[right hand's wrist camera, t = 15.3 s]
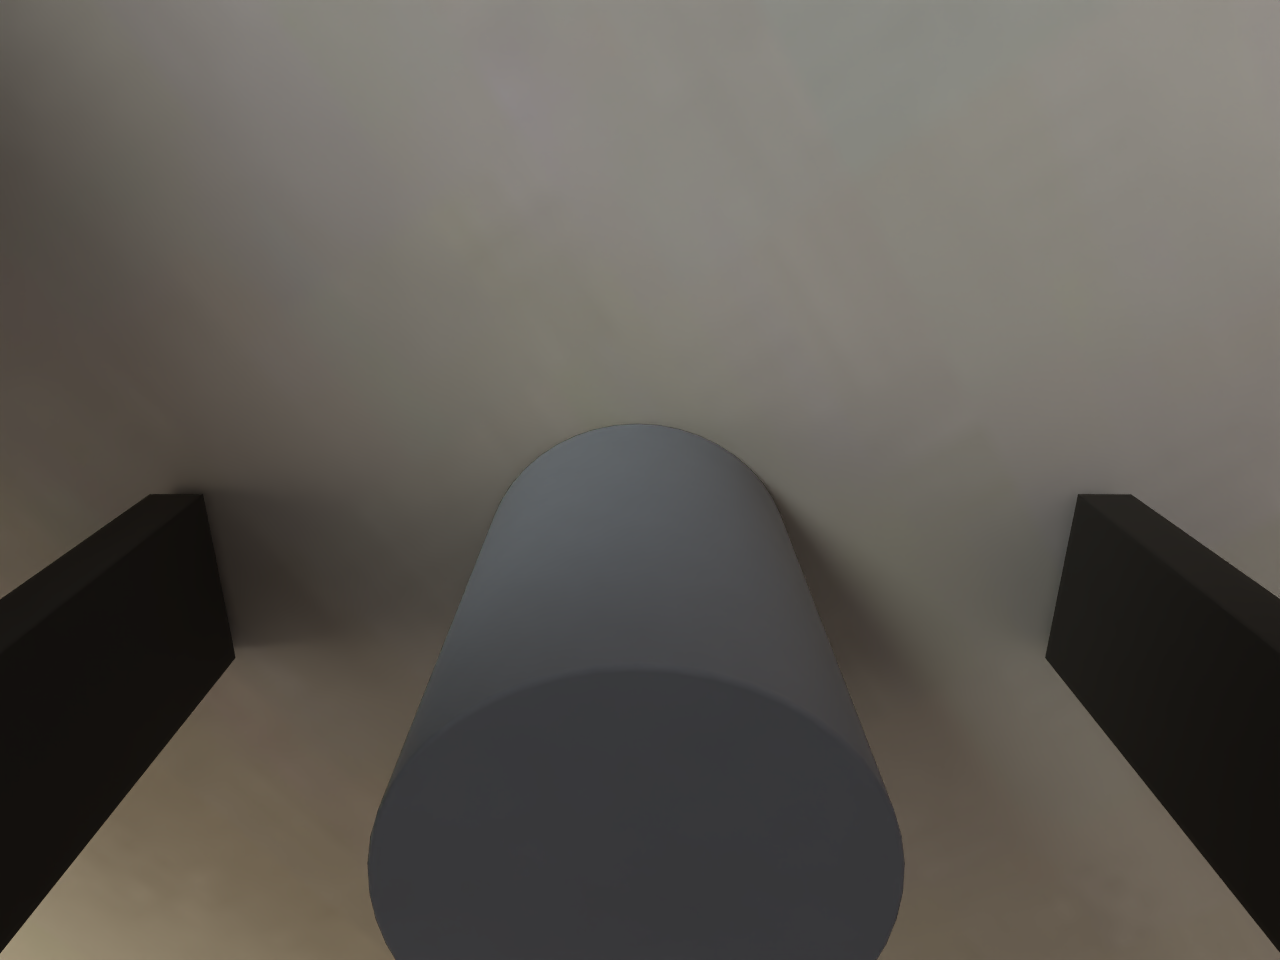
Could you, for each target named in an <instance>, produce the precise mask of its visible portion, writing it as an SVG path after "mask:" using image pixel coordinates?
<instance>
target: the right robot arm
mask: <svg viewBox="0 0 1280 960" xmlns="http://www.w3.org/2000/svg"><path fill="white" fill-rule="evenodd" d="M1045 658H1046V659H1047V661H1048V662H1049V663H1050V664H1051V666H1052V667H1053V668H1054V669H1055V671H1056V672H1057V673H1058V674H1059V676H1060V677H1061V678H1062V679H1063V681H1064V682H1065V683H1066V684H1067V686H1068V687H1069V688H1070V689H1071V691H1072V692H1073V693H1074V694H1075V696H1076V697H1077V698H1078V700H1079V701H1080V702H1081V703H1082V705H1083V706H1084V707H1085V708H1086V710H1087V711H1088V712H1089V713H1090V715H1091V716H1092V717H1093V718H1094V720H1095V721H1096V722H1097V723H1098V725H1099V726H1100V727H1101V728H1102V730H1103V731H1104V732H1105V733H1106V735H1107V736H1108V737H1109V738H1110V740H1111V741H1112V742H1113V743H1114V745H1115V746H1116V747H1117V748H1118V750H1119V751H1120V752H1121V754H1122V755H1123V756H1124V757H1125V759H1126V760H1127V761H1128V762H1129V764H1130V765H1131V766H1132V767H1133V769H1134V770H1135V771H1136V772H1137V774H1138V775H1139V776H1140V777H1141V779H1142V780H1143V781H1144V782H1145V784H1146V785H1147V786H1148V787H1149V789H1150V790H1151V791H1152V792H1153V794H1154V795H1155V796H1156V797H1157V799H1158V800H1159V801H1160V803H1161V804H1162V805H1163V806H1164V808H1165V809H1166V810H1167V811H1168V813H1169V814H1170V815H1171V816H1172V818H1173V819H1174V820H1175V821H1176V823H1177V824H1178V825H1179V826H1180V828H1181V829H1182V830H1183V831H1184V833H1185V834H1186V835H1187V836H1188V838H1189V839H1190V840H1191V841H1192V843H1193V844H1194V845H1195V846H1196V848H1197V849H1198V850H1199V852H1200V853H1201V854H1202V855H1203V857H1204V858H1205V859H1206V860H1207V862H1208V863H1209V864H1210V865H1211V867H1212V868H1213V869H1214V870H1215V872H1216V873H1217V874H1218V875H1219V877H1220V878H1221V879H1222V880H1223V882H1224V883H1225V884H1226V885H1227V887H1228V888H1229V889H1230V890H1231V892H1232V893H1233V894H1234V895H1235V897H1236V898H1237V899H1238V900H1239V902H1240V903H1241V904H1242V906H1243V907H1244V908H1245V909H1246V911H1247V912H1248V913H1249V914H1250V916H1251V917H1252V918H1253V919H1254V921H1255V922H1256V923H1257V924H1258V926H1259V927H1260V928H1261V929H1262V931H1263V932H1264V933H1265V934H1266V936H1267V937H1268V938H1269V939H1270V941H1271V942H1272V943H1273V944H1274V946H1275V947H1276V948H1277V949H1278V951H1279V952H1280V599H1279V598H1278V597H1276V596H1275V595H1273V594H1272V593H1271V592H1269V591H1268V590H1266V589H1265V588H1263V587H1262V586H1261V585H1259V584H1258V583H1256V582H1255V581H1253V580H1252V579H1251V578H1249V577H1248V576H1246V575H1245V574H1244V573H1242V572H1241V571H1239V570H1238V569H1236V568H1235V567H1234V566H1232V565H1231V564H1229V563H1228V562H1226V561H1225V560H1224V559H1222V558H1221V557H1219V556H1218V555H1216V554H1215V553H1214V552H1212V551H1211V550H1209V549H1208V548H1207V547H1205V546H1204V545H1202V544H1201V543H1199V542H1198V541H1197V540H1195V539H1194V538H1192V537H1191V536H1189V535H1188V534H1187V533H1185V532H1184V531H1182V530H1181V529H1179V528H1178V527H1177V526H1175V525H1174V524H1172V523H1171V522H1170V521H1168V520H1167V519H1165V518H1164V517H1162V516H1161V515H1160V514H1158V513H1157V512H1155V511H1154V510H1152V509H1151V508H1150V507H1148V506H1147V505H1145V504H1144V503H1143V502H1141V501H1140V500H1138V499H1137V498H1135V497H1134V496H1133V495H1131V494H1078V497H1077V502H1076V507H1075V512H1074V517H1073V522H1072V527H1071V532H1070V537H1069V542H1068V547H1067V552H1066V557H1065V562H1064V567H1063V572H1062V577H1061V582H1060V587H1059V592H1058V597H1057V602H1056V607H1055V612H1054V617H1053V622H1052V627H1051V632H1050V637H1049V642H1048V647H1047V652H1046V657H1045ZM234 659H235V653H234V648H233V643H232V638H231V633H230V628H229V623H228V618H227V613H226V608H225V603H224V598H223V593H222V588H221V583H220V578H219V573H218V568H217V563H216V558H215V553H214V548H213V543H212V538H211V533H210V528H209V523H208V518H207V513H206V508H205V503H204V498H203V494H150V495H148V496H147V497H145V498H144V499H143V500H141V501H140V502H138V503H137V504H135V505H134V506H133V507H131V508H130V509H128V510H127V511H125V512H124V513H123V514H121V515H120V516H118V517H117V518H115V519H114V520H113V521H111V522H110V523H108V524H107V525H106V526H104V527H103V528H101V529H100V530H98V531H97V532H96V533H94V534H93V535H91V536H90V537H88V538H87V539H86V540H84V541H83V542H81V543H80V544H79V545H77V546H76V547H74V548H73V549H71V550H70V551H69V552H67V553H66V554H64V555H63V556H61V557H60V558H59V559H57V560H56V561H54V562H53V563H52V564H50V565H49V566H47V567H46V568H44V569H43V570H42V571H40V572H39V573H37V574H36V575H34V576H33V577H32V578H30V579H29V580H27V581H26V582H24V583H23V584H22V585H20V586H19V587H17V588H16V589H15V590H13V591H12V592H10V593H9V594H7V595H6V596H5V597H3V598H2V599H0V953H1V952H2V950H3V949H4V948H5V947H6V945H7V944H8V943H9V942H10V940H11V939H12V938H13V937H14V935H15V934H16V933H17V932H18V930H19V929H20V928H21V927H22V925H23V924H24V923H25V922H26V920H27V919H28V918H29V917H30V915H31V914H32V913H33V911H34V910H35V909H36V908H37V906H38V905H39V904H40V903H41V901H42V900H43V899H44V898H45V896H46V895H47V894H48V893H49V891H50V890H51V889H52V888H53V886H54V885H55V884H56V883H57V881H58V880H59V879H60V878H61V876H62V875H63V874H64V873H65V871H66V870H67V869H68V868H69V866H70V865H71V864H72V862H73V861H74V860H75V859H76V857H77V856H78V855H79V854H80V852H81V851H82V850H83V849H84V847H85V846H86V845H87V844H88V842H89V841H90V840H91V839H92V837H93V836H94V835H95V834H96V832H97V831H98V830H99V829H100V827H101V826H102V825H103V824H104V822H105V821H106V820H107V819H108V817H109V816H110V815H111V813H112V812H113V811H114V810H115V808H116V807H117V806H118V805H119V803H120V802H121V801H122V800H123V798H124V797H125V796H126V795H127V793H128V792H129V791H130V790H131V788H132V787H133V786H134V785H135V783H136V782H137V781H138V780H139V778H140V777H141V776H142V775H143V773H144V772H145V771H146V770H147V768H148V767H149V766H150V764H151V763H152V762H153V761H154V759H155V758H156V757H157V756H158V754H159V753H160V752H161V751H162V749H163V748H164V747H165V746H166V744H167V743H168V742H169V741H170V739H171V738H172V737H173V736H174V734H175V733H176V732H177V731H178V729H179V728H180V727H181V726H182V724H183V723H184V722H185V720H186V719H187V718H188V717H189V715H190V714H191V713H192V712H193V710H194V709H195V708H196V707H197V705H198V704H199V703H200V702H201V700H202V699H203V698H204V697H205V695H206V694H207V693H208V692H209V690H210V689H211V688H212V687H213V685H214V684H215V683H216V682H217V680H218V679H219V678H220V677H221V675H222V674H223V673H224V671H225V670H226V669H227V668H228V666H229V665H230V664H231V663H232V661H233V660H234Z"/></svg>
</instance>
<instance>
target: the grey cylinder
mask: <svg viewBox="0 0 1280 960" xmlns="http://www.w3.org/2000/svg"><path fill="white" fill-rule="evenodd" d="M904 865H905V863H904V854H903V845H902V836H901V833H900V829H899V826H898V822H897V819H896V816H895V812H894V809H893V806H892V804H891V801H890V798H889V796H888V793H887V791H886V788H885V785H884V783H883V780H882V778H881V775H880V772H879V770H878V767H877V765H876V762H875V759H874V757H873V754H872V752H871V749H870V746H869V744H868V741H867V739H866V736H865V733H864V731H863V728H862V726H861V723H860V720H859V718H858V715H857V713H856V710H855V707H854V705H853V702H852V700H851V697H850V694H849V692H848V689H847V687H846V684H845V681H844V679H843V676H842V673H841V671H840V668H839V666H838V663H837V660H836V658H835V655H834V653H833V650H832V647H831V645H830V642H829V640H828V637H827V634H826V632H825V629H824V627H823V624H822V621H821V619H820V616H819V614H818V611H817V608H816V606H815V603H814V601H813V598H812V595H811V593H810V590H809V588H808V585H807V582H806V580H805V577H804V575H803V572H802V569H801V567H800V564H799V562H798V559H797V556H796V554H795V551H794V548H793V546H792V543H791V541H790V538H789V535H788V533H787V530H786V528H785V525H784V522H783V520H782V517H781V515H780V513H779V511H778V508H777V506H776V504H775V502H774V500H773V498H772V497H771V495H770V494H769V492H768V491H767V489H766V487H765V486H764V484H763V483H762V482H761V481H760V480H759V478H758V477H757V476H756V475H755V474H754V473H753V472H752V470H751V469H750V468H749V467H747V466H746V465H745V464H744V463H743V462H742V461H740V460H739V459H738V458H737V457H736V456H735V455H733V454H732V453H730V452H728V451H727V450H725V449H724V448H722V447H721V446H719V445H718V444H716V443H713V442H711V441H709V440H707V439H705V438H703V437H701V436H698V435H695V434H692V433H689V432H686V431H683V430H680V429H675V428H670V427H665V426H660V425H646V424H629V425H615V426H610V427H605V428H600V429H595V430H592V431H589V432H586V433H583V434H580V435H576V436H574V437H572V438H570V439H568V440H566V441H564V442H562V443H559V444H557V445H556V446H554V447H553V448H551V449H550V450H548V451H547V452H545V453H543V454H542V455H540V456H539V457H538V458H537V459H536V460H535V461H533V462H532V463H531V464H530V465H529V466H528V467H526V468H525V469H524V471H523V472H522V473H521V474H520V475H519V476H518V477H517V478H516V480H515V481H514V482H513V483H512V485H511V486H510V488H509V489H508V491H507V492H506V494H505V495H504V497H503V498H502V500H501V502H500V504H499V507H498V509H497V511H496V513H495V515H494V518H493V520H492V523H491V525H490V528H489V530H488V533H487V535H486V538H485V540H484V543H483V545H482V548H481V550H480V553H479V556H478V558H477V561H476V563H475V566H474V568H473V571H472V573H471V576H470V578H469V581H468V583H467V586H466V588H465V591H464V593H463V596H462V599H461V601H460V604H459V606H458V609H457V611H456V614H455V616H454V619H453V621H452V624H451V626H450V629H449V631H448V634H447V637H446V639H445V642H444V644H443V647H442V649H441V652H440V654H439V657H438V659H437V662H436V664H435V667H434V669H433V672H432V674H431V677H430V680H429V682H428V685H427V687H426V690H425V692H424V695H423V697H422V700H421V702H420V705H419V707H418V710H417V712H416V715H415V718H414V720H413V723H412V725H411V728H410V730H409V733H408V735H407V738H406V740H405V743H404V745H403V748H402V750H401V753H400V755H399V758H398V761H397V763H396V766H395V768H394V771H393V773H392V776H391V778H390V781H389V783H388V786H387V788H386V791H385V793H384V796H383V799H382V801H381V804H380V806H379V809H378V812H377V815H376V819H375V822H374V826H373V829H372V833H371V836H370V845H369V854H368V879H369V892H370V897H371V901H372V905H373V909H374V914H375V918H376V921H377V923H378V926H379V928H380V930H381V933H382V935H383V938H384V940H385V942H386V945H387V946H388V948H389V950H390V951H391V953H392V955H393V956H394V958H395V959H396V960H877V958H878V957H879V955H880V953H881V952H882V950H883V948H884V947H885V945H886V943H887V941H888V938H889V936H890V933H891V931H892V929H893V926H894V924H895V921H896V919H897V914H898V910H899V906H900V902H901V897H902V893H903V881H904Z"/></svg>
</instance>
